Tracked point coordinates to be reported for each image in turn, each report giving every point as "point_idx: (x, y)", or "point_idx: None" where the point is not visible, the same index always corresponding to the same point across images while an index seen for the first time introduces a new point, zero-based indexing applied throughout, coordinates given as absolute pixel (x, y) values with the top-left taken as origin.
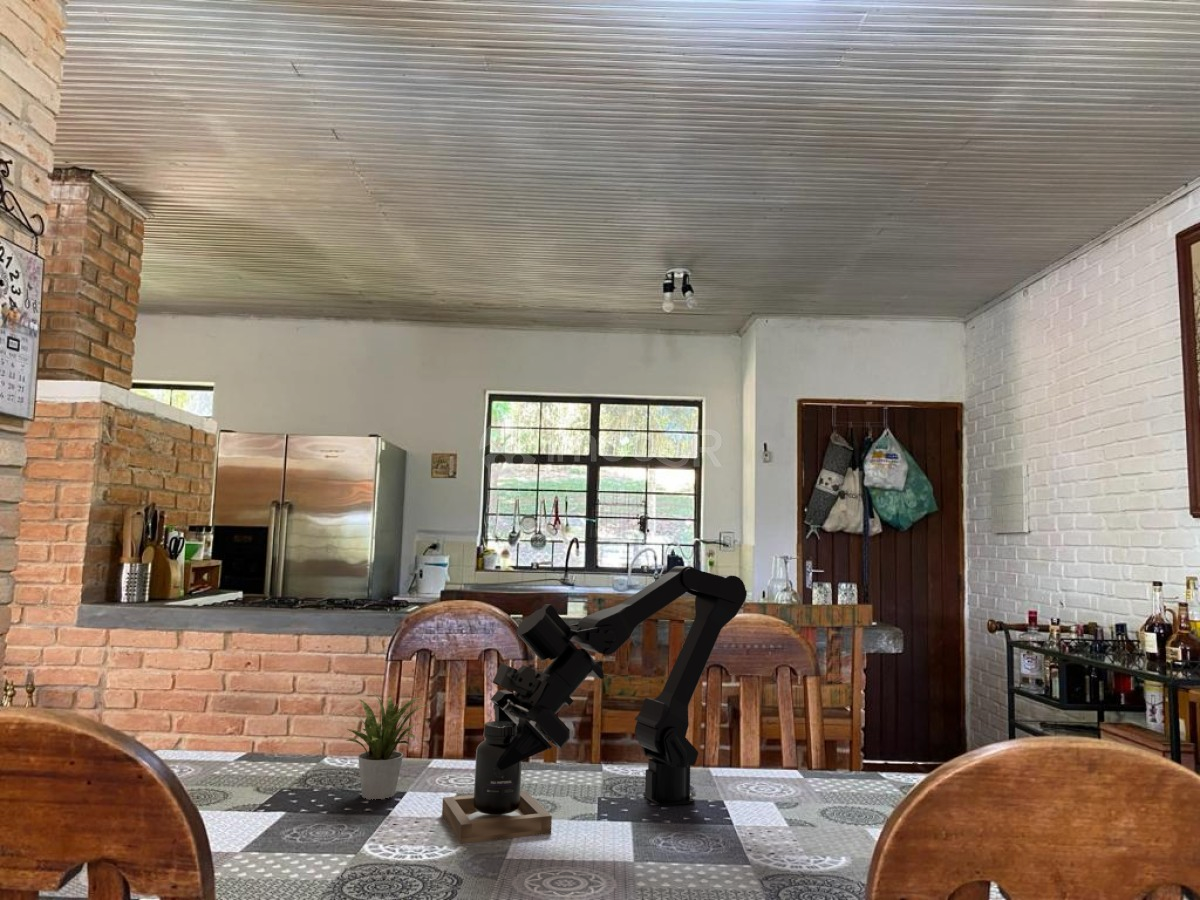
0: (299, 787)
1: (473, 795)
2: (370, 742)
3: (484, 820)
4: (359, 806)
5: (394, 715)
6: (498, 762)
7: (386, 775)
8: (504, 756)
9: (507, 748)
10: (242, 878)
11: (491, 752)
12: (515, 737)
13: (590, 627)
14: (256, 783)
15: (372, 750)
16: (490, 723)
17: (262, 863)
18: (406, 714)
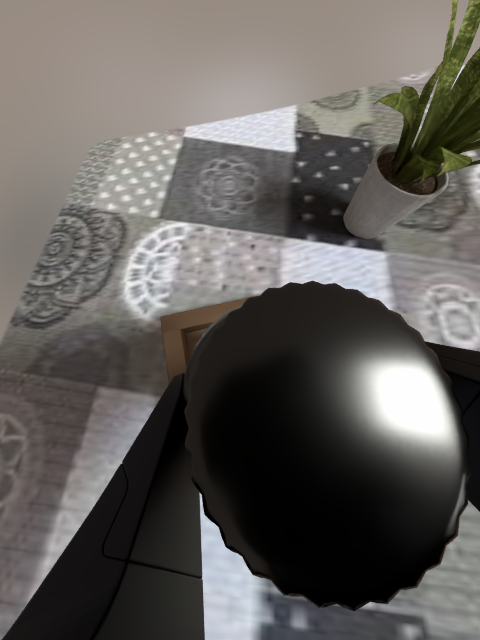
0: None
1: None
2: (416, 121)
3: (174, 352)
4: (317, 207)
5: None
6: (174, 379)
7: (365, 202)
8: (157, 406)
9: (159, 428)
10: (116, 146)
11: (192, 351)
12: (121, 522)
13: None
14: (383, 121)
15: (405, 144)
16: (333, 321)
17: (149, 154)
18: None
